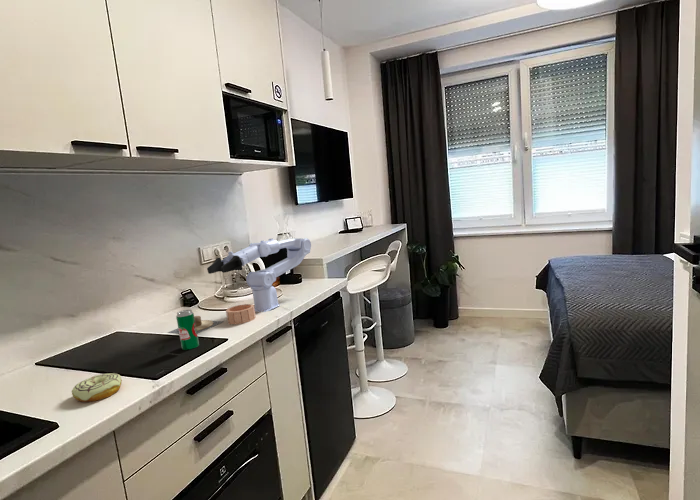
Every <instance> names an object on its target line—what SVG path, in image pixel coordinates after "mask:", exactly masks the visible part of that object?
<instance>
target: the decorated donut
mask: <svg viewBox="0 0 700 500" xmlns="http://www.w3.org/2000/svg"><path fill="white" fill-rule="evenodd" d="M122 381H123V380H122V375H120V374H118V373H115V372H113V373H101V374H96V375H94V376H91V377H89V378H86V379H84V380H82V381H80V382H78V383H77V384H75V385H74V387H73V388H72V389H71V395H72V397H73V398H74V399H75V400H76V401H78V402H81V403H85V402H86V403H87V402H88V403H89V402H91V403H93V402H96V401H100V400H103V399H107V398H110V397H112V396H113V395H114V394H116V393H117V392H118V391H120V388H121V385H122Z"/></svg>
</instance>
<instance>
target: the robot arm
mask: <svg viewBox="0 0 700 500" xmlns="http://www.w3.org/2000/svg"><path fill="white" fill-rule="evenodd" d="M311 248H312V242H311V240H310V239H309V238H307V237H304V238H302V237H301V238H297V237H295V238H294V237H293V238H285V239H282V240H276V239H274V238H269V239H268V240H260V241H259V242H253V243H252V242H251V243H250V244H249V246H247V247H245V248H242V249H240V250H238V251H236V252H233V251H232V250H231V251H228V252H227V253H228V255H227V256H226V257H224V258H223V259H221V257H220V256H219V257H216V258H215V260H214V261H213V263H212V264H210V265H209V266H207V268H206V269H207V273H208V274H214V273H218V272H222V273H228V272H233V271H243V267H244V266H245V265H247V264H250V263H252V262H253V261H256V260H257V259H259V258H264V257H265V258H266V257H268V256H269V255H272V254H277V253H278V252H279V251H280V250H281V249H286V251H287V252H286V254H287V255H286V256H287V257H286V258H284V259H282V260H280V261H278V262H276V263H275V264H272V265H270V266H269V267H266V268H263V269H260V270H257V271H250V272H248V274H247V275H246V284H247V286H249V287H250V289H251V290H252V297H253V305H254V309H255V313H257V312H258V313H259V312H261V313H266V312H269V311H272V310H274V309H277V308H278V307H280V306H281V304H279V300H278V293H277V289H276V287H275V286H273V283H275V282H276V281H277V278H278V277H279V276H281V275H283V274H285V273H287V272H288V271H290V270H292V269H295V268H296V267H298V266H299V265H300V264H301V263H302V261H303V260H304V259H305V258H306V256H307V255H309V254H310V253H311V250H312V249H311Z"/></svg>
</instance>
